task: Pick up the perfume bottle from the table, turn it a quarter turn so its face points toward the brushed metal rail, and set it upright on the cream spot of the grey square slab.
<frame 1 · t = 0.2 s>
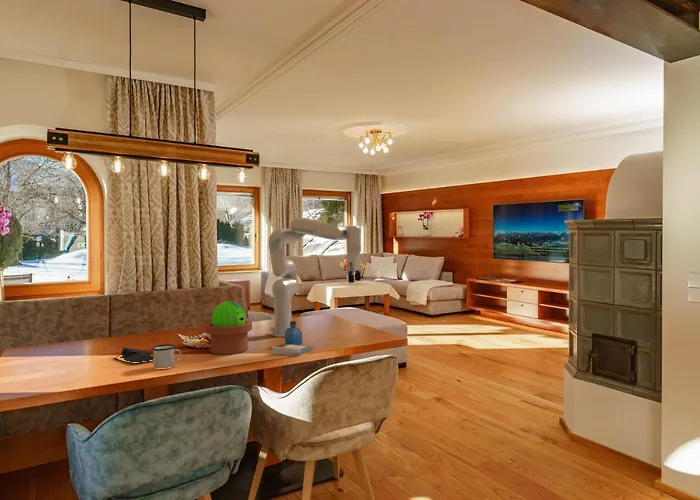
hand: (354, 281, 249), 31 cm above the table, tool pointing down, fingers open, 9 cm apart
potted cactus: (229, 351, 232), on the table
perfume bottle: (293, 345, 242), on the table
black folded cloth: (137, 360, 220), on the table
grey square slab: (292, 351, 228), on the table
mug: (167, 367, 205), on the table
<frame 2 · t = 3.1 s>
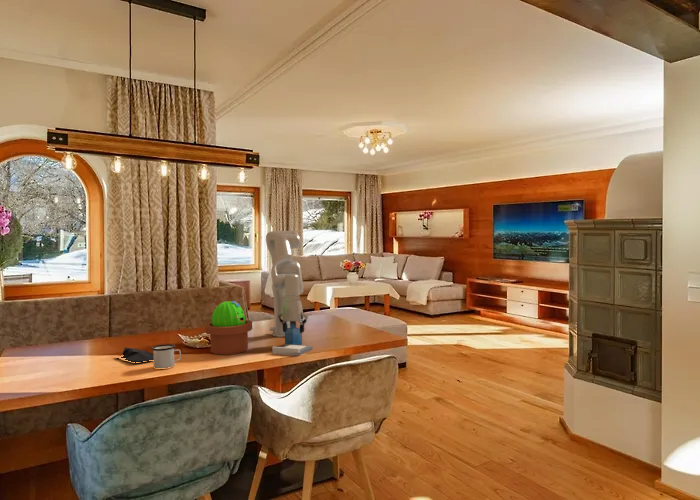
hand: (293, 332, 241), 7 cm above the table, tool pointing down, fingers open, 9 cm apart
perfume bottle: (293, 345, 242), on the table, touching gripper
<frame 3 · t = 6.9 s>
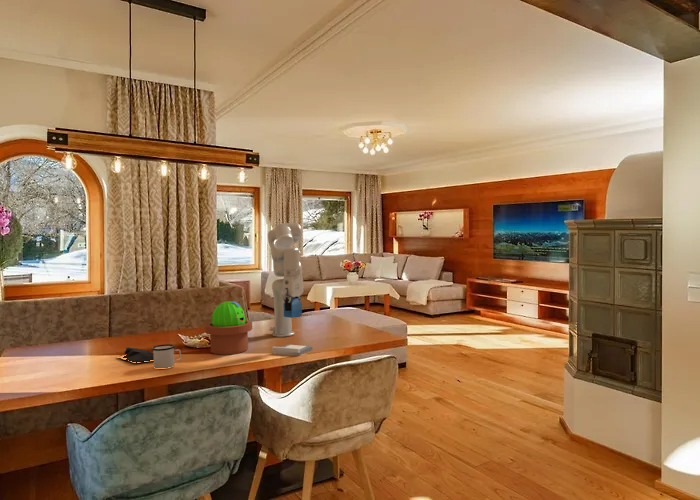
hand: (292, 309, 229), 20 cm above the table, tool pointing down, fingers closed on perfume bottle, 7 cm apart
perfume bottle: (292, 316, 229), point 17 cm above the table, touching gripper
when the fingers open (6 cm above the table, at t = 10.3 s): perfume bottle stays where it is, resting on grey square slab.
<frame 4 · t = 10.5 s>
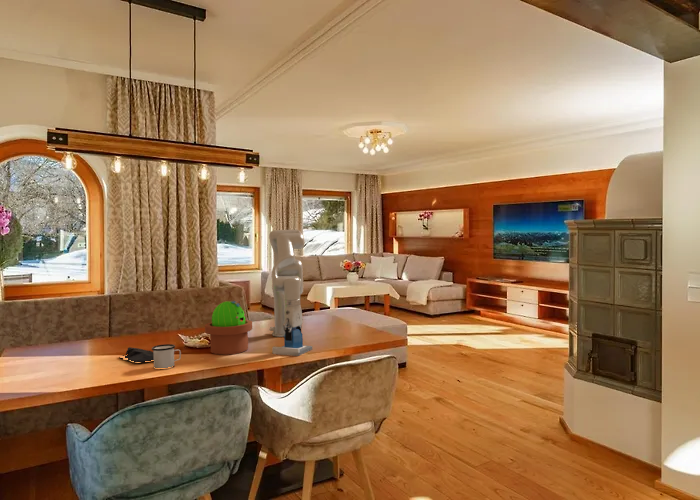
hand: (293, 338, 228), 6 cm above the table, tool pointing down, fingers open, 9 cm apart
perfume bottle: (293, 347, 229), point 1 cm above the table, touching grey square slab
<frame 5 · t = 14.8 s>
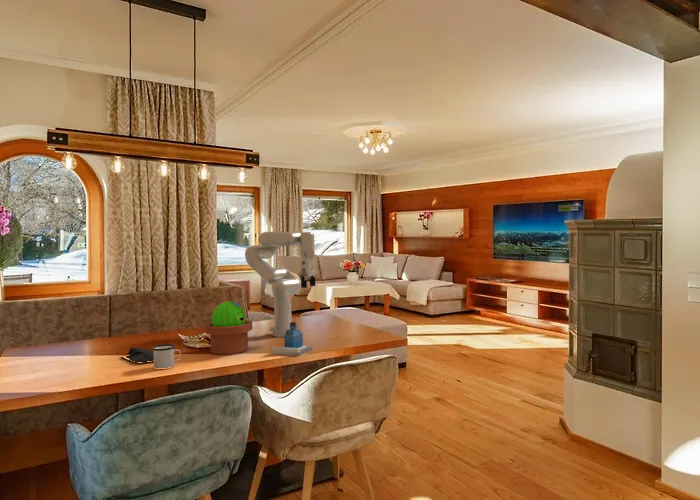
hand: (308, 286, 254), 28 cm above the table, tool pointing down, fingers open, 9 cm apart
at the end: perfume bottle 0.3 cm from the target spot on the grey square slab, point 1.5 cm above the grey square slab's base; perfume bottle tilted 0°; the gripper is holding nothing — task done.
